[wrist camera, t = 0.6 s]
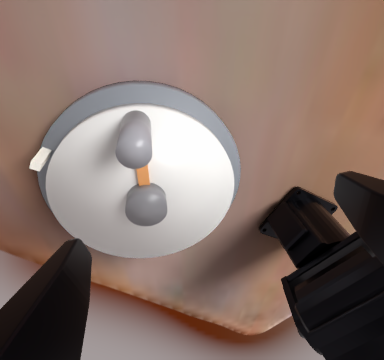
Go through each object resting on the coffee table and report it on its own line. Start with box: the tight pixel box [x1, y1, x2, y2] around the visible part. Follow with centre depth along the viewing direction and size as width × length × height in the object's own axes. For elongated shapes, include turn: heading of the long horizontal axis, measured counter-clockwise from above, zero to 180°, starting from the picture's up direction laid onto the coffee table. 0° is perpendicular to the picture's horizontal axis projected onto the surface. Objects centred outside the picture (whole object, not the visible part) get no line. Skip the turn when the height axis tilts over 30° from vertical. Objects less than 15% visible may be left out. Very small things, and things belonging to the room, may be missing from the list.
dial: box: [46, 103, 234, 258], centre depth 18 cm, size 14×14×5 cm
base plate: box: [29, 81, 241, 211], centre depth 20 cm, size 16×16×4 cm
